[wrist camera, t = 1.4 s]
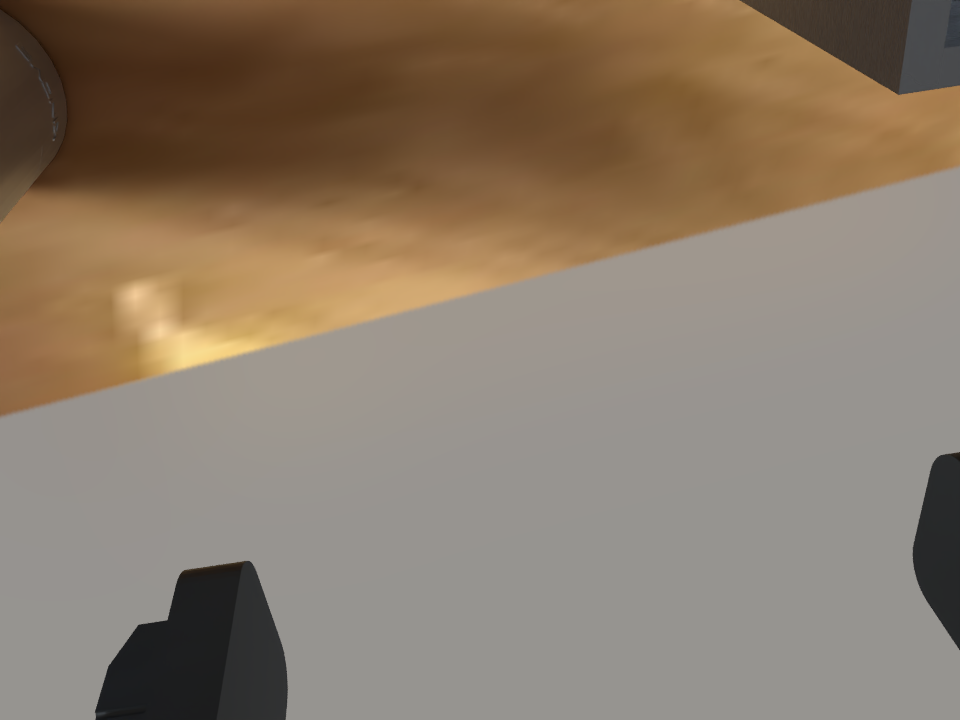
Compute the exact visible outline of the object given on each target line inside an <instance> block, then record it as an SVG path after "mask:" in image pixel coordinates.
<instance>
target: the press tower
mask: <svg viewBox="0 0 960 720" xmlns="http://www.w3.org/2000/svg"><path fill="white" fill-rule="evenodd" d="M740 1H742V2H744V3H745V4H747V5H749V6H750V7H752V8H754V9H755V10H757V11H759V12H760V13H762V14H764V15H765V16H767V17H769V18H770V19H772V20H774V21H776V22H777V23H779V24H781V25H782V26H784V27H786V28H787V29H789V30H791V31H792V32H794V33H796V34H797V35H799V36H801V37H802V38H804V39H806V40H807V41H809V42H811V43H812V44H814V45H816V46H818V47H819V48H821V49H823V50H824V51H826V52H828V53H829V54H831V55H833V56H834V57H836V58H838V59H839V60H841V61H843V62H844V63H846V64H848V65H849V66H851V67H853V68H854V69H856V70H858V71H860V72H861V73H863V74H865V75H866V76H868V77H870V78H871V79H873V80H875V81H876V82H878V83H880V84H881V85H883V86H885V87H886V88H888V89H890V90H891V91H893V92H895V93H896V94H898V95H900V94H906V93H913V92H919V91H926V90H932V89H939V88H945V87H952V86H958V85H960V0H740Z"/></svg>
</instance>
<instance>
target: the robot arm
mask: <svg viewBox="0 0 960 720" xmlns="http://www.w3.org/2000/svg"><path fill="white" fill-rule="evenodd" d="M66 124H67V106H66V98H65V94H64V90H63V86H62V83H61V79H60V77H59V75H58V73H57V71H56V69H55V67H54V65H53V63H52V61H51V59H50V58H49V56H48V55H47V53H46V52H45V51H44V49H43V48H42V47H41V45H40V44H39V43H38V41H37V40H36V39H35V38H34V37H33V36H32V35H31V34H30V33H29V32H28V31H27V30H26V29H25V28H24V27H23V26H22V25H21V24H20V23H19V22H18V21H16V20H15V19H13V18H12V17H10V16H9V15H8V14H6V13H5V12H3V11H2V10H0V223H1V222H2V221H3V219H4V218H5V217H6V216H7V214H8V213H9V212H10V211H11V210H12V208H13V207H14V206H15V205H16V204H17V202H18V201H19V200H20V199H21V197H22V196H23V195H24V194H25V193H26V192H27V190H28V189H29V188H30V186H31V185H32V184H33V183H34V181H35V180H36V179H37V178H38V177H39V175H40V174H41V173H42V172H43V171H44V169H45V168H46V167H47V166H48V164H49V163H50V162H51V161H52V160H53V158H54V157H55V156H56V154H57V152H58V150H59V148H60V146H61V144H62V142H63V140H64V135H65V129H66ZM913 563H914V570H915V574H916V577H917V581H918V584H919V586H920V589H921V591H922V593H923V595H924V597H925V598H926V600H927V602H928V603H929V605H930V606H931V608H932V609H933V611H934V612H935V614H936V615H937V617H938V618H939V620H940V621H941V623H942V624H943V626H944V627H945V629H946V630H947V632H948V633H949V635H950V636H951V638H952V639H953V641H954V642H955V644H956V645H957V647H958V648H959V650H960V452H959V453H952V454H945V455H941V456H939V457H937V458H936V460H935V461H934V463H933V465H932V468H931V471H930V476H929V480H928V485H927V488H926V493H925V497H924V502H923V506H922V510H921V515H920V519H919V524H918V528H917V532H916V536H915V541H914V546H913ZM287 688H288V687H287V671H286V662H285V656H284V651H283V647H282V644H281V641H280V638H279V635H278V632H277V629H276V626H275V623H274V621H273V618H272V615H271V612H270V609H269V606H268V603H267V601H266V598H265V595H264V592H263V589H262V586H261V583H260V581H259V578H258V575H257V572H256V570H255V568H254V566H253V564H252V563H251V562H250V561H243V562H237V563H230V564H223V565H216V566H210V567H203V568H196V569H189V570H184V571H183V572H182V573H181V574H180V576H179V578H178V581H177V584H176V588H175V592H174V596H173V600H172V605H171V608H170V612H169V616H168V620H167V621H160V622H154V623H148V624H141V625H138V626H137V628H136V629H135V631H134V632H133V634H132V635H131V636H130V637H129V639H128V640H127V642H126V643H125V645H124V646H123V647H122V649H121V650H120V651H119V653H118V654H117V656H116V657H115V658H114V660H113V661H112V662H111V664H110V665H109V666H108V670H107V673H106V677H105V680H104V683H103V687H102V690H101V693H100V697H99V700H98V704H97V707H96V710H95V713H96V720H285V719H286V709H287V693H288V692H287V691H288V689H287Z"/></svg>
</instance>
